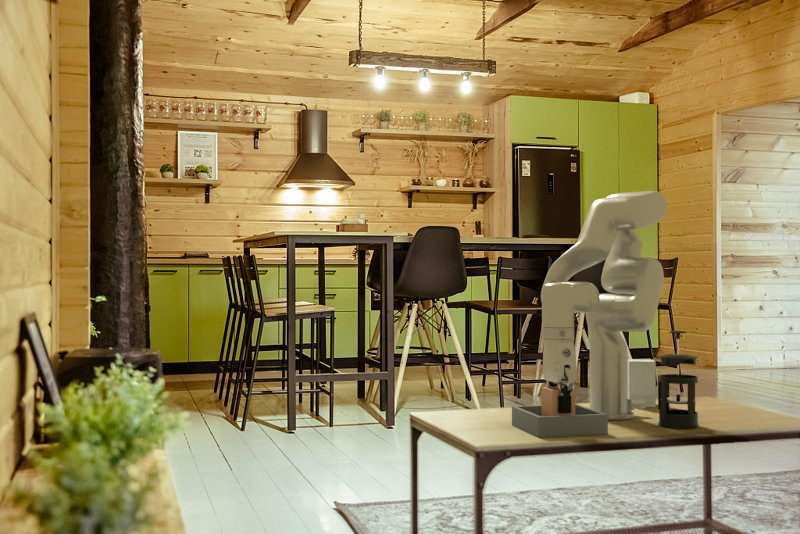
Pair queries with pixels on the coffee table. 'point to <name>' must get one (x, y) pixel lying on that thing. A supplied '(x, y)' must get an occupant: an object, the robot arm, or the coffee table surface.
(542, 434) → the grey square tray
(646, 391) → the supplement box
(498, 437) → the coffee table surface
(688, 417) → the french press
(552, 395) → the small crate
